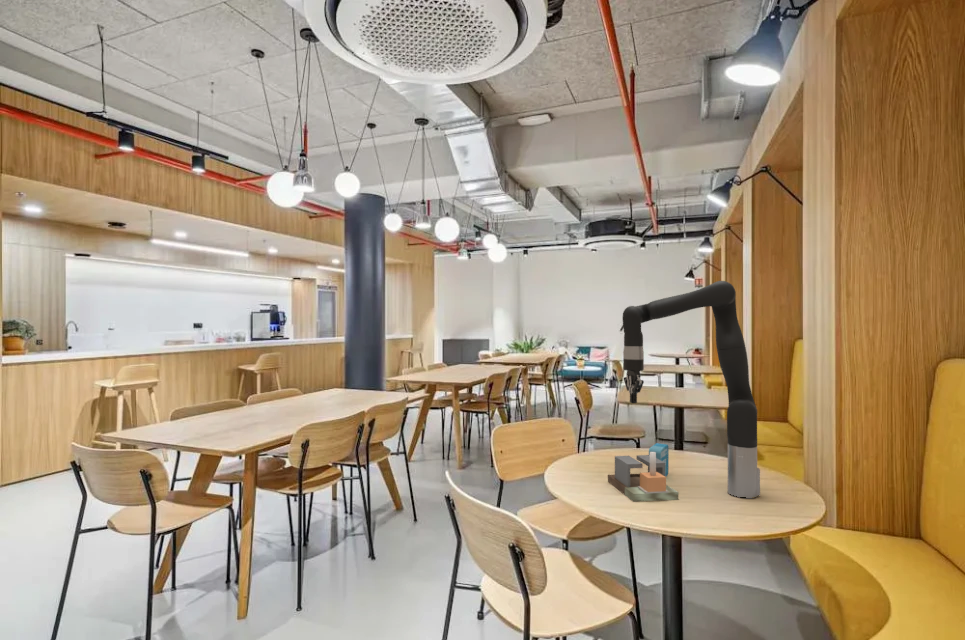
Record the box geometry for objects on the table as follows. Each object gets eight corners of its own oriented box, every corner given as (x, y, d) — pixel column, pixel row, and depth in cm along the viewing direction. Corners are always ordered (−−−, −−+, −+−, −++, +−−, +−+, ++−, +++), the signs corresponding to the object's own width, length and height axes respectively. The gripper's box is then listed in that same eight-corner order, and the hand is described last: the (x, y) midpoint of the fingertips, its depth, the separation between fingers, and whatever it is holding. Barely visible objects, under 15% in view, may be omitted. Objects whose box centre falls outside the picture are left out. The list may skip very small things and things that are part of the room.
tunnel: (650, 476, 187) (650, 454, 187) (665, 485, 176) (665, 462, 176) (614, 477, 185) (614, 456, 185) (627, 487, 174) (627, 464, 174)
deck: (647, 479, 191) (647, 473, 191) (678, 499, 169) (678, 492, 169) (607, 481, 189) (607, 474, 189) (633, 501, 167) (633, 494, 167)
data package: (660, 481, 189) (660, 450, 189) (648, 479, 191) (648, 448, 191) (668, 474, 199) (668, 443, 199) (656, 472, 201) (657, 442, 201)
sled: (659, 486, 174) (659, 449, 174) (668, 492, 168) (668, 454, 168) (637, 487, 173) (637, 450, 173) (645, 493, 167) (645, 455, 167)
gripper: (650, 359, 187) (650, 405, 187) (635, 356, 200) (634, 400, 200) (631, 359, 186) (631, 406, 186) (617, 356, 199) (617, 400, 199)
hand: (633, 403), depth 193 cm, fingers closed
